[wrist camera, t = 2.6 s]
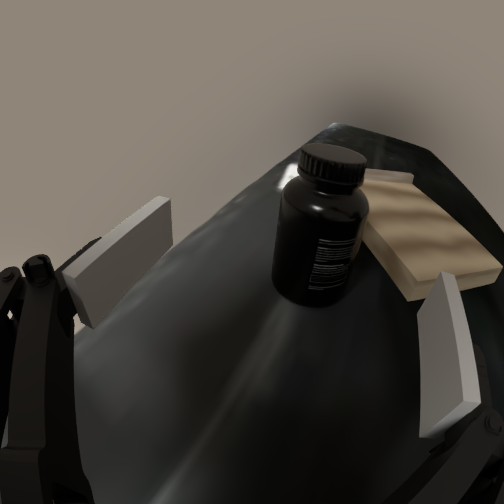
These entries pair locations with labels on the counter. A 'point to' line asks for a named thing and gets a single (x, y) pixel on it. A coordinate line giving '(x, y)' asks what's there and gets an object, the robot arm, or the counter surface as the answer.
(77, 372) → the counter surface
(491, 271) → the shelf board
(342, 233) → the supplement bottle
